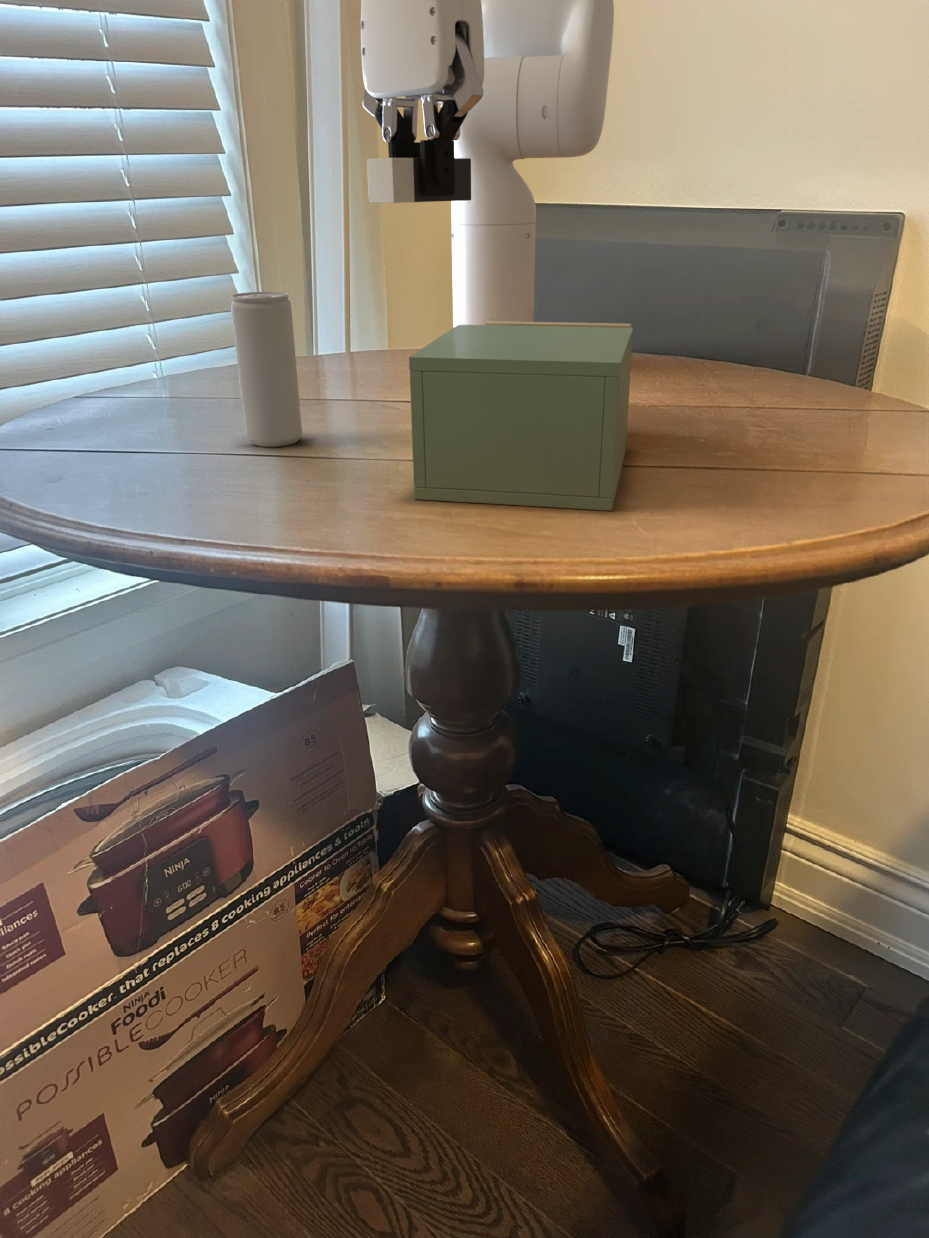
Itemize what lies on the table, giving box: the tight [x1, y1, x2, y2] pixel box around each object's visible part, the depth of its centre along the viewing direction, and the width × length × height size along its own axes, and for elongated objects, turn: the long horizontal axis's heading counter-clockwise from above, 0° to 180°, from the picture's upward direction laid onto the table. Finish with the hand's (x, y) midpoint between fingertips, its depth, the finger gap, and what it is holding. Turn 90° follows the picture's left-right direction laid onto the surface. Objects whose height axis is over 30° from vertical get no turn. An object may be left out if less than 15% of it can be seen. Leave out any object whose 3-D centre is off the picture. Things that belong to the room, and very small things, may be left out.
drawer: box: [485, 321, 632, 328], centre depth 79 cm, size 18×13×8 cm
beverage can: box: [230, 291, 303, 448], centre depth 77 cm, size 5×5×12 cm
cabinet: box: [408, 325, 634, 512], centre depth 68 cm, size 15×14×10 cm
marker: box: [366, 157, 471, 204], centre depth 76 cm, size 9×3×3 cm, turn 134°
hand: (422, 193), depth 77 cm, fingers closed on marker, 3 cm apart
